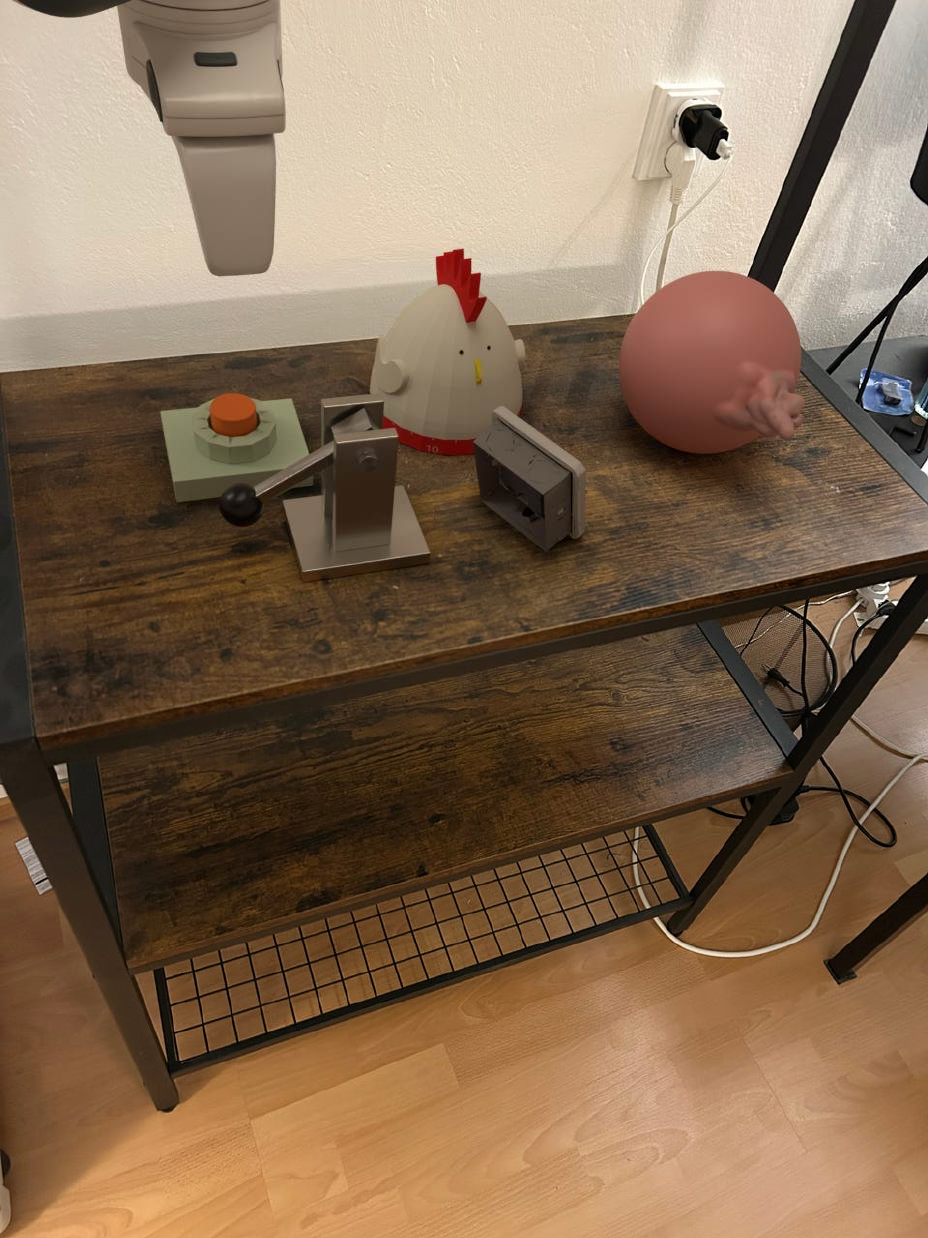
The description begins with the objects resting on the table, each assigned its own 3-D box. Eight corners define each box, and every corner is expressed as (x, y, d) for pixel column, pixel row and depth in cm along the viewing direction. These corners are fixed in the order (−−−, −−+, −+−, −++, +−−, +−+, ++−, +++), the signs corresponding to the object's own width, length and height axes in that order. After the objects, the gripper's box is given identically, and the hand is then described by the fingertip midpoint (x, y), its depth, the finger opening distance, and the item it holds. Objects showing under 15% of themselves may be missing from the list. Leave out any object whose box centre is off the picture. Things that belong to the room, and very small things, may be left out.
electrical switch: (585, 538, 80) (601, 455, 72) (541, 570, 77) (554, 487, 70) (504, 477, 84) (513, 392, 76) (461, 506, 81) (465, 421, 74)
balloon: (663, 536, 81) (721, 383, 69) (577, 391, 93) (614, 240, 81) (820, 513, 85) (899, 365, 74) (718, 377, 97) (772, 232, 85)
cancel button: (215, 440, 77) (213, 422, 76) (208, 412, 79) (206, 394, 78) (260, 435, 78) (259, 418, 77) (252, 408, 80) (251, 390, 79)
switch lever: (239, 542, 71) (213, 518, 69) (232, 513, 73) (207, 488, 71) (391, 455, 69) (370, 427, 67) (380, 427, 71) (359, 399, 69)
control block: (176, 502, 77) (170, 464, 74) (163, 431, 83) (157, 392, 80) (313, 485, 80) (312, 448, 77) (292, 418, 86) (290, 380, 83)
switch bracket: (302, 582, 73) (300, 462, 64) (282, 510, 78) (277, 389, 69) (429, 563, 76) (443, 445, 67) (402, 495, 81) (412, 376, 72)
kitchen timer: (402, 467, 83) (414, 312, 72) (347, 374, 91) (351, 220, 79) (544, 438, 88) (577, 288, 76) (481, 352, 95) (503, 204, 84)
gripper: (129, -26, 60) (158, 192, 71) (165, 118, 48) (195, 355, 59) (231, -24, 62) (246, 188, 72) (291, 115, 50) (298, 346, 60)
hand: (223, 264), depth 65 cm, fingers closed
